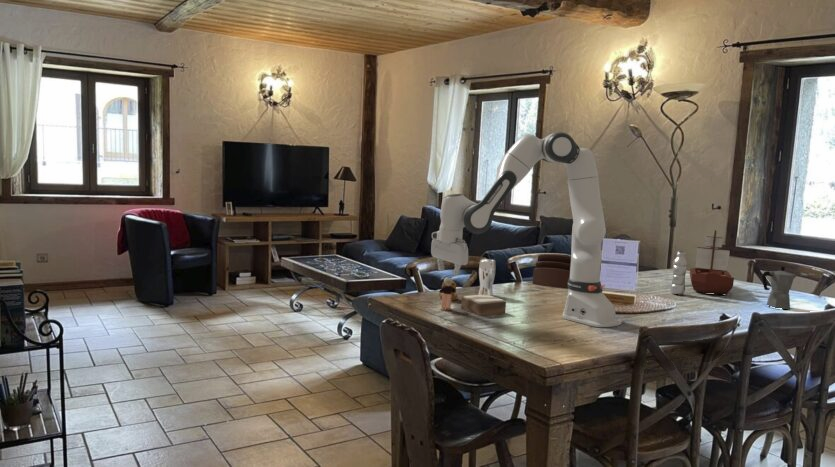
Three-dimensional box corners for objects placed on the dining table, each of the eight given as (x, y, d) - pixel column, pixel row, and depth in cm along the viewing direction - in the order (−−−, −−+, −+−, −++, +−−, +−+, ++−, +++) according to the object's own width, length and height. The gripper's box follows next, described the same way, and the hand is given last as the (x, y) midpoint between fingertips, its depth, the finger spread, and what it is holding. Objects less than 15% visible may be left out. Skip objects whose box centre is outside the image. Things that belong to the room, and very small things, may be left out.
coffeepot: (786, 305, 283) (791, 265, 281) (799, 310, 274) (804, 269, 272) (752, 304, 283) (756, 263, 281) (764, 309, 273) (769, 267, 271)
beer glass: (493, 297, 271) (495, 262, 269) (476, 295, 272) (478, 260, 271) (494, 293, 278) (496, 259, 276) (478, 292, 279) (480, 258, 277)
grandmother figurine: (440, 311, 242) (442, 278, 240) (435, 309, 245) (437, 276, 244) (458, 310, 246) (459, 277, 244) (452, 307, 249) (454, 275, 247)
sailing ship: (690, 294, 298) (696, 231, 294) (687, 280, 335) (693, 224, 331) (732, 299, 292) (739, 235, 288) (725, 284, 329) (731, 227, 325)
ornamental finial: (447, 301, 259) (435, 298, 265) (461, 300, 263) (449, 296, 269) (448, 282, 258) (436, 279, 264) (462, 280, 262) (450, 277, 268)
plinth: (505, 313, 244) (506, 300, 243) (479, 316, 238) (480, 302, 237) (485, 306, 254) (486, 293, 253) (461, 308, 248) (461, 296, 247)
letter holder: (536, 281, 313) (538, 252, 312) (577, 285, 306) (580, 256, 305) (532, 284, 304) (534, 255, 302) (574, 289, 297) (577, 259, 295)
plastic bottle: (685, 294, 297) (690, 251, 295) (683, 296, 291) (687, 253, 289) (671, 292, 301) (675, 250, 298) (668, 294, 295) (672, 251, 292)
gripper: (473, 240, 235) (471, 277, 237) (442, 232, 252) (440, 267, 254) (459, 240, 232) (457, 278, 233) (429, 233, 249) (426, 268, 251)
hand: (448, 272), depth 244 cm, fingers open, 8 cm apart
